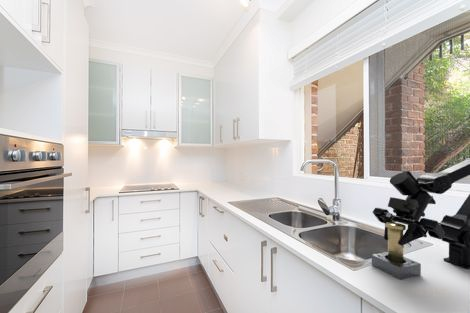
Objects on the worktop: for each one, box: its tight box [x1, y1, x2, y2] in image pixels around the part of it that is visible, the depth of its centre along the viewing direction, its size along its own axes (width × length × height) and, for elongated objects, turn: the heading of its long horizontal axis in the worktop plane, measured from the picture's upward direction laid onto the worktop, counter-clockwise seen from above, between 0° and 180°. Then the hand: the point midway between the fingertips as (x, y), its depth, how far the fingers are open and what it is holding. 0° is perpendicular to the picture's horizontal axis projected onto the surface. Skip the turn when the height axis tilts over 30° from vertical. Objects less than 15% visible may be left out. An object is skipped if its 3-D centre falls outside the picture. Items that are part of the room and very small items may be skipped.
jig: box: [371, 251, 422, 281], centre depth 68 cm, size 9×9×4 cm
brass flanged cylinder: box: [386, 222, 407, 263], centre depth 68 cm, size 5×5×12 cm
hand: (392, 241), depth 68 cm, fingers closed on brass flanged cylinder, 4 cm apart
